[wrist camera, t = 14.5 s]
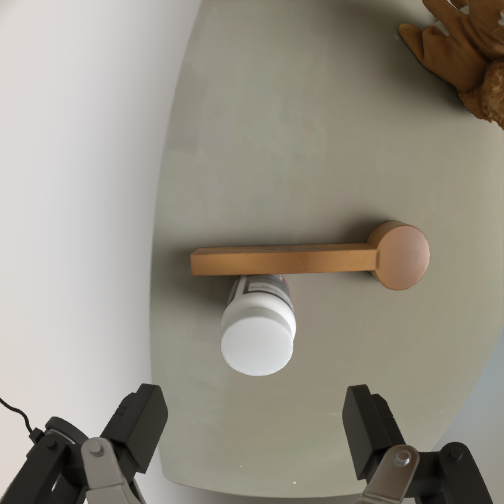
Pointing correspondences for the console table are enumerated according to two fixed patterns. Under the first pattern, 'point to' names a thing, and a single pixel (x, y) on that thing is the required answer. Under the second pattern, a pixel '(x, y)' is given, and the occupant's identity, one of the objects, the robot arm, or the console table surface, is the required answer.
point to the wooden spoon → (328, 257)
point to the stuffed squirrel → (465, 51)
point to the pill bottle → (258, 325)
